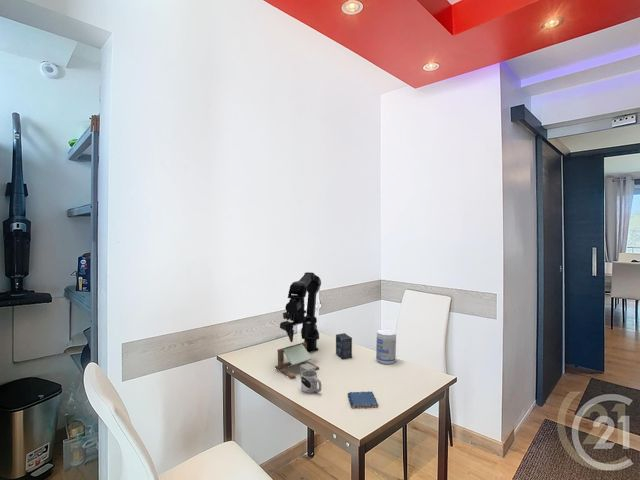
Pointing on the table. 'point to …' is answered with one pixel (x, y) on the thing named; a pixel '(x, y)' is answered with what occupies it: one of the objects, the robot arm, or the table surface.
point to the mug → (310, 382)
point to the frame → (282, 365)
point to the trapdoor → (297, 354)
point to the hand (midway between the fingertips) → (299, 339)
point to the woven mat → (362, 400)
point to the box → (344, 346)
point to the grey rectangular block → (307, 367)
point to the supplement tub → (386, 346)
